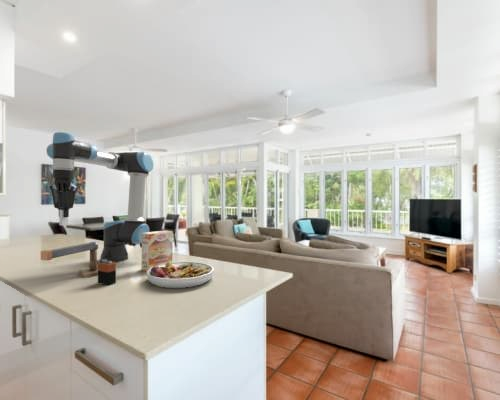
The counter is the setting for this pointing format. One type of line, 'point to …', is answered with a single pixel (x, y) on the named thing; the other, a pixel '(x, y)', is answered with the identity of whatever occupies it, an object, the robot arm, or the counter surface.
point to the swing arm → (68, 250)
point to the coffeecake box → (156, 249)
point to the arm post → (91, 265)
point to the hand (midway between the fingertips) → (63, 224)
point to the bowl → (180, 274)
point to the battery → (106, 272)
